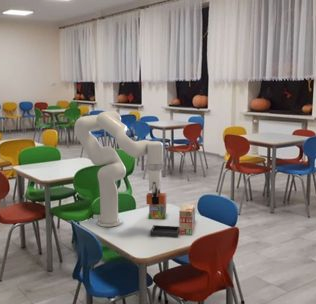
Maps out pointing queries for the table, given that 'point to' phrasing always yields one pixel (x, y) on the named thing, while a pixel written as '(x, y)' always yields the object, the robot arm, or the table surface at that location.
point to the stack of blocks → (186, 219)
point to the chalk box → (157, 211)
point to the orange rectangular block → (161, 198)
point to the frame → (164, 231)
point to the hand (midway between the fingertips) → (156, 202)
